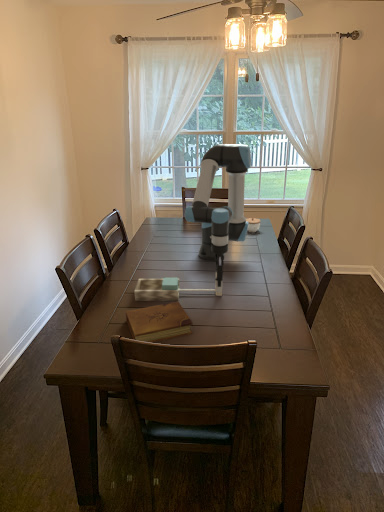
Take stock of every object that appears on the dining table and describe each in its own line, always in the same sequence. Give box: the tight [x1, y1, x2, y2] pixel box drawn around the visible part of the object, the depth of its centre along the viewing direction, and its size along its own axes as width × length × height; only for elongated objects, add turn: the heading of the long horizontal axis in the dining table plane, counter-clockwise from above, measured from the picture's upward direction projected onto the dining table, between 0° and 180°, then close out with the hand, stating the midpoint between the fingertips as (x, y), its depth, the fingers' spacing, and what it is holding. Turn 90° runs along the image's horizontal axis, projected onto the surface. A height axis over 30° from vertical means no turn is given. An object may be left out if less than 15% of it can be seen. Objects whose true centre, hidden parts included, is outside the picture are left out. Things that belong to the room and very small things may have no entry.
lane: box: [134, 278, 181, 302], centre depth 178 cm, size 20×13×5 cm, turn 89°
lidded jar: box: [246, 217, 261, 233], centre depth 262 cm, size 11×11×9 cm
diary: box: [125, 301, 193, 343], centre depth 152 cm, size 23×19×6 cm
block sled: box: [162, 271, 223, 297], centre depth 177 cm, size 28×8×10 cm, turn 89°
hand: (218, 288), depth 177 cm, fingers closed on block sled, 5 cm apart
